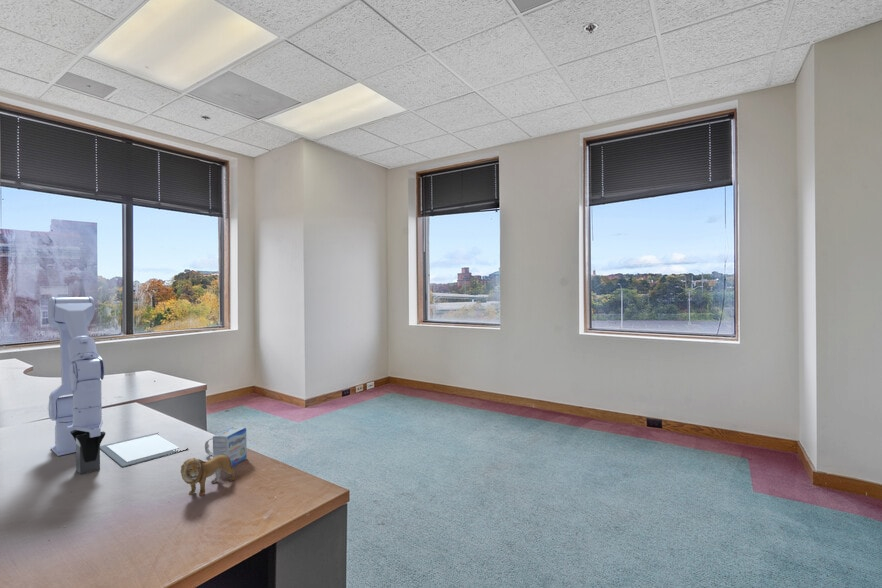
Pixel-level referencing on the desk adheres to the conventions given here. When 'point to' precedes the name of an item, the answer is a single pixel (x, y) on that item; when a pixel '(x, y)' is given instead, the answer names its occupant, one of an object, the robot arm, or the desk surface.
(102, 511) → the desk surface
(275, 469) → the desk surface
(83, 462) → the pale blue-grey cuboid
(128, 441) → the desk mat
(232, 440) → the medicine box
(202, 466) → the lion figurine
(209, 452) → the wristwatch
